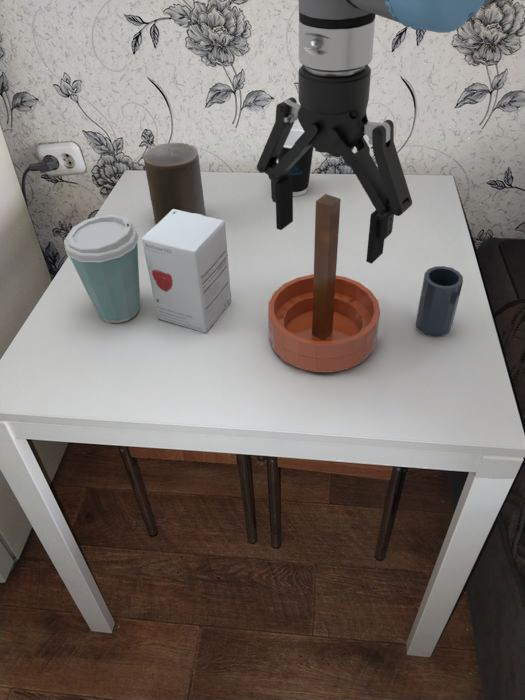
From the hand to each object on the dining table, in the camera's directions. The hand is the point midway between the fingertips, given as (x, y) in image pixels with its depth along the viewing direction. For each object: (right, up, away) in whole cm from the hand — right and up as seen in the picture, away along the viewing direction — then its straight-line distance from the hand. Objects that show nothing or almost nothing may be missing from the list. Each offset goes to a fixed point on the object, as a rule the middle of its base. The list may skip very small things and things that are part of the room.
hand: (327, 240), depth 75 cm
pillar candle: (-24, +10, +37) cm, 45 cm away
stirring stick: (0, -12, +11) cm, 16 cm away
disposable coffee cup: (-31, -8, +19) cm, 37 cm away
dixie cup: (-2, +18, +44) cm, 48 cm away
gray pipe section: (+17, -10, +13) cm, 24 cm away
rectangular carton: (-19, -8, +18) cm, 27 cm away
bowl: (0, -12, +12) cm, 17 cm away
